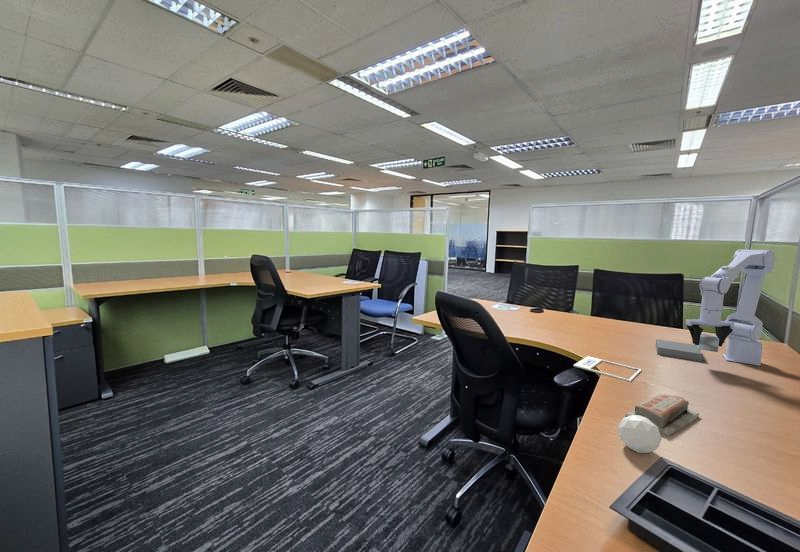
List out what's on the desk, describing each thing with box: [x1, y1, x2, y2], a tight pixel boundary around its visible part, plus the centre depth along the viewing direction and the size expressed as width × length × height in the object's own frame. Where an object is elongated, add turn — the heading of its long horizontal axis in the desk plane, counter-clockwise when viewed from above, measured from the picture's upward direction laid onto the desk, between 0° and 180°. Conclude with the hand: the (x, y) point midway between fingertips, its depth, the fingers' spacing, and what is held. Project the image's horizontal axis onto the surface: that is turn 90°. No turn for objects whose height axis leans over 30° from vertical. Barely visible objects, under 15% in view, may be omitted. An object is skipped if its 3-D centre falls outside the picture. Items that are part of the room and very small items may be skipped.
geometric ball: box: [617, 415, 662, 454], centre depth 74 cm, size 8×8×8 cm
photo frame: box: [573, 355, 642, 383], centre depth 121 cm, size 15×1×18 cm
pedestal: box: [655, 338, 704, 362], centre depth 139 cm, size 14×14×3 cm
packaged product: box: [624, 393, 700, 436], centre depth 88 cm, size 18×5×10 cm
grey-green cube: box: [696, 333, 719, 353], centre depth 123 cm, size 5×5×5 cm
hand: (707, 345), depth 123 cm, fingers closed on grey-green cube, 7 cm apart
